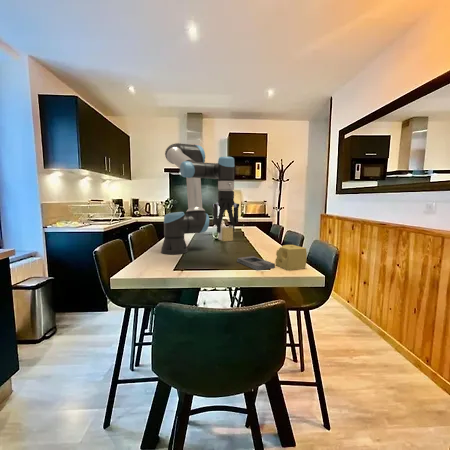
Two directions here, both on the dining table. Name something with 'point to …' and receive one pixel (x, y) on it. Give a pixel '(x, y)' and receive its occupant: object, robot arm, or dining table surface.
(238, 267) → the dining table surface
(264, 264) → the metal plate
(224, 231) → the yellow cube
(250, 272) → the dining table surface
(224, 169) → the robot arm
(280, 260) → the cheese
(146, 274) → the dining table surface
